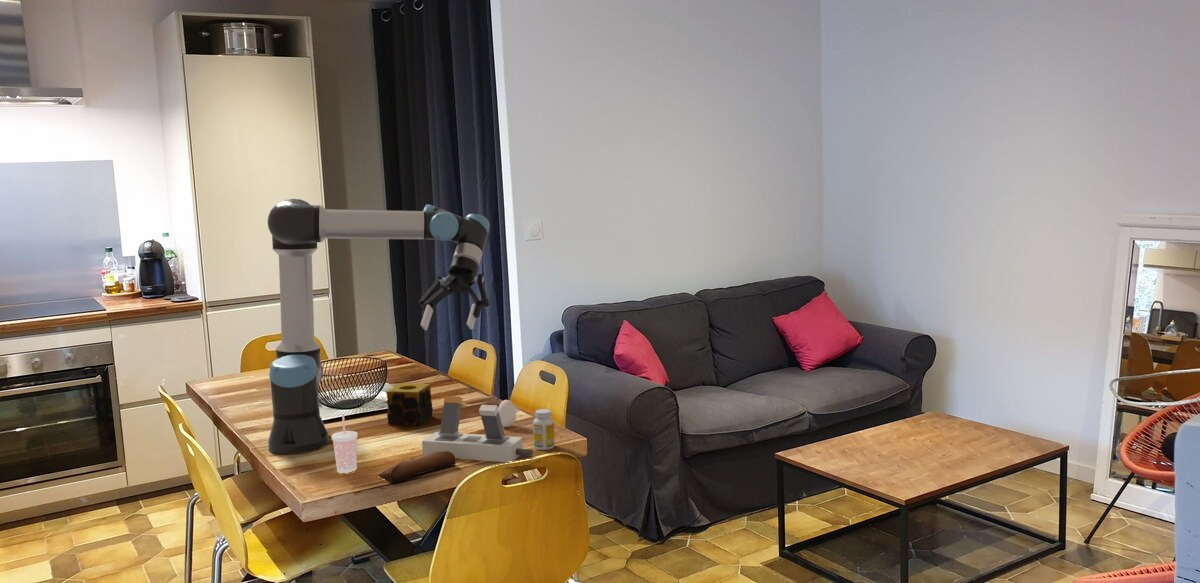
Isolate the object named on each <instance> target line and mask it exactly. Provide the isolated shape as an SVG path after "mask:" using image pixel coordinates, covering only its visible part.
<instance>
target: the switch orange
mask: <svg viewBox="0 0 1200 583" xmlns="http://www.w3.org/2000/svg"><path fill="white" fill-rule="evenodd" d="M463 400H464V398H463V397H460V396H452V395H451V396H450V395H444V398H443V408H442V416H441V422H440V423H441V424H440V430H438V431H437V432H438V435H439V436H454V437H458V436H459V433H460V431H459V426H460V419H461V418H460V417H461V411H462V405H463Z"/></svg>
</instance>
